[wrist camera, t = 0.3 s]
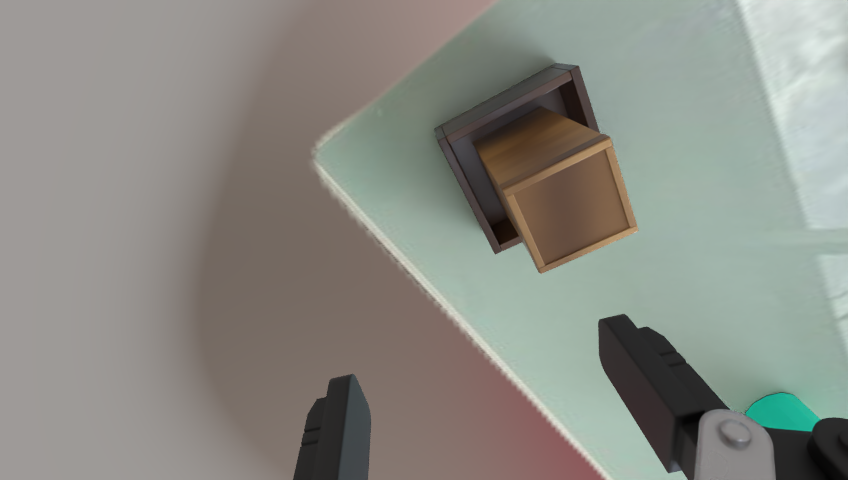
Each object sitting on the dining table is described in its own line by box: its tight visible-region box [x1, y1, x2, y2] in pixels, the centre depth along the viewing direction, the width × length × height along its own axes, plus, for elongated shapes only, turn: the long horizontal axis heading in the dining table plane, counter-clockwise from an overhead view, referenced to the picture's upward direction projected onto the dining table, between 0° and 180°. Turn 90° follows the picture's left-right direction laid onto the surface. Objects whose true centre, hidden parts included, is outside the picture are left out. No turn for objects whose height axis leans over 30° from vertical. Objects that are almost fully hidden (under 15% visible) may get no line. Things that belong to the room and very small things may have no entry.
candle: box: [746, 393, 821, 432], centre depth 40 cm, size 6×6×12 cm
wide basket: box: [434, 63, 600, 254], centre depth 29 cm, size 10×10×4 cm
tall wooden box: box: [472, 106, 638, 274], centre depth 25 cm, size 6×6×11 cm
